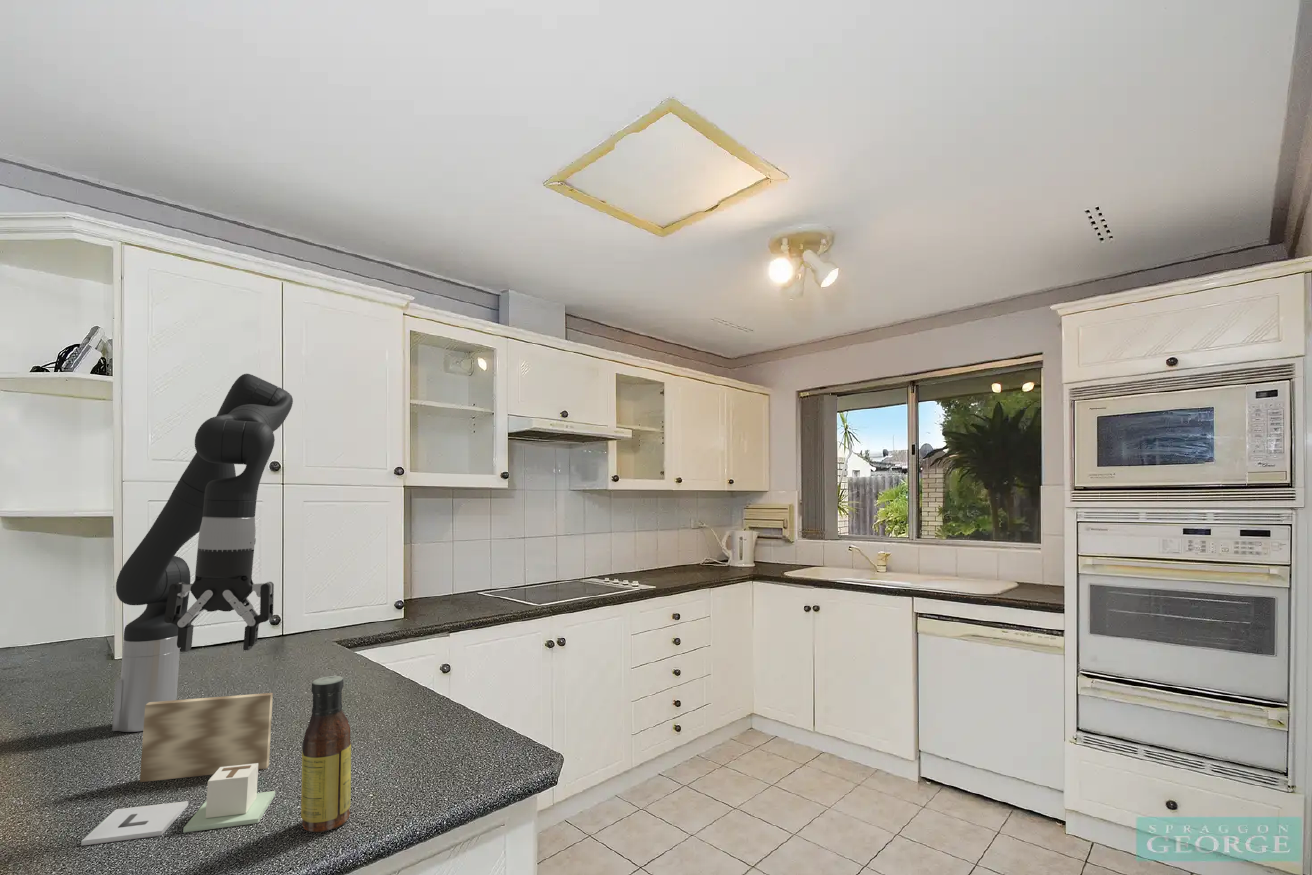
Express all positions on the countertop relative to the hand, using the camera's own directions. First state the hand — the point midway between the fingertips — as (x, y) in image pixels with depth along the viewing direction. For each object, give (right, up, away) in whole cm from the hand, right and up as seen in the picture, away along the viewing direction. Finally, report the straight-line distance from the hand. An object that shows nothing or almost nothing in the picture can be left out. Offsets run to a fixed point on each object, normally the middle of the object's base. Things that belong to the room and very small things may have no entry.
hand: (217, 649), depth 102 cm
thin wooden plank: (-6, -22, +6) cm, 24 cm away
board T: (+7, -21, -7) cm, 24 cm away
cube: (+7, -21, -7) cm, 23 cm away
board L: (-4, -21, -11) cm, 24 cm away
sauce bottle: (+22, -21, -11) cm, 32 cm away
